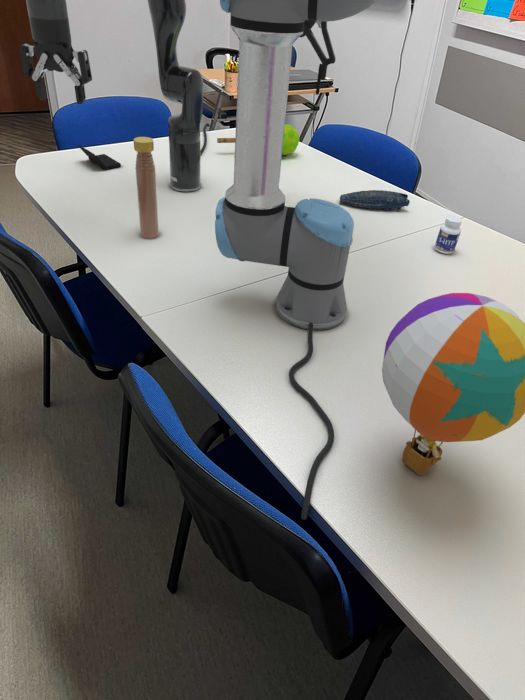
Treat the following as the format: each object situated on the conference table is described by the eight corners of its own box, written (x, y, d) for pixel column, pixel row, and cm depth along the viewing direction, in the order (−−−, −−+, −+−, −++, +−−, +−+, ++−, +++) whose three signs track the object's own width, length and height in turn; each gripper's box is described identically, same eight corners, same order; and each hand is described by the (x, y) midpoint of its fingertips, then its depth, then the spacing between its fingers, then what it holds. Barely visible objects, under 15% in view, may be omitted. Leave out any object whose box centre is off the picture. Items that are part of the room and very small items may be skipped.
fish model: (408, 214, 157) (412, 198, 153) (339, 207, 158) (341, 191, 154) (406, 206, 162) (410, 190, 159) (339, 199, 163) (341, 183, 160)
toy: (329, 455, 81) (367, 293, 62) (405, 402, 92) (457, 251, 73) (434, 545, 70) (518, 382, 52) (506, 474, 81) (598, 317, 62)
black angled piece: (125, 159, 170) (105, 137, 162) (114, 177, 169) (93, 156, 161) (104, 155, 177) (83, 134, 168) (93, 172, 175) (71, 152, 167)
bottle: (155, 229, 137) (149, 137, 123) (161, 237, 134) (156, 143, 119) (138, 232, 135) (130, 139, 121) (144, 240, 132) (136, 145, 118)
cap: (150, 145, 124) (149, 135, 122) (156, 151, 121) (156, 141, 119) (131, 147, 122) (130, 137, 120) (137, 153, 119) (137, 143, 117)
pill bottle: (433, 251, 139) (442, 220, 133) (435, 243, 143) (444, 213, 137) (453, 256, 138) (464, 225, 132) (454, 247, 142) (465, 217, 136)
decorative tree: (214, 118, 187) (294, 118, 193) (214, 147, 194) (292, 146, 199) (220, 132, 174) (307, 132, 179) (220, 164, 180) (304, 162, 185)
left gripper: (89, 16, 107) (99, 101, 117) (23, 9, 108) (39, 93, 118) (74, 20, 101) (86, 109, 111) (4, 12, 102) (22, 101, 112)
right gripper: (355, -7, 121) (340, 92, 134) (250, -18, 122) (245, 81, 136) (355, -4, 115) (339, 99, 128) (244, -16, 117) (239, 87, 130)
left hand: (61, 101), depth 115 cm, fingers open, 8 cm apart
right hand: (290, 90), depth 132 cm, fingers open, 13 cm apart
